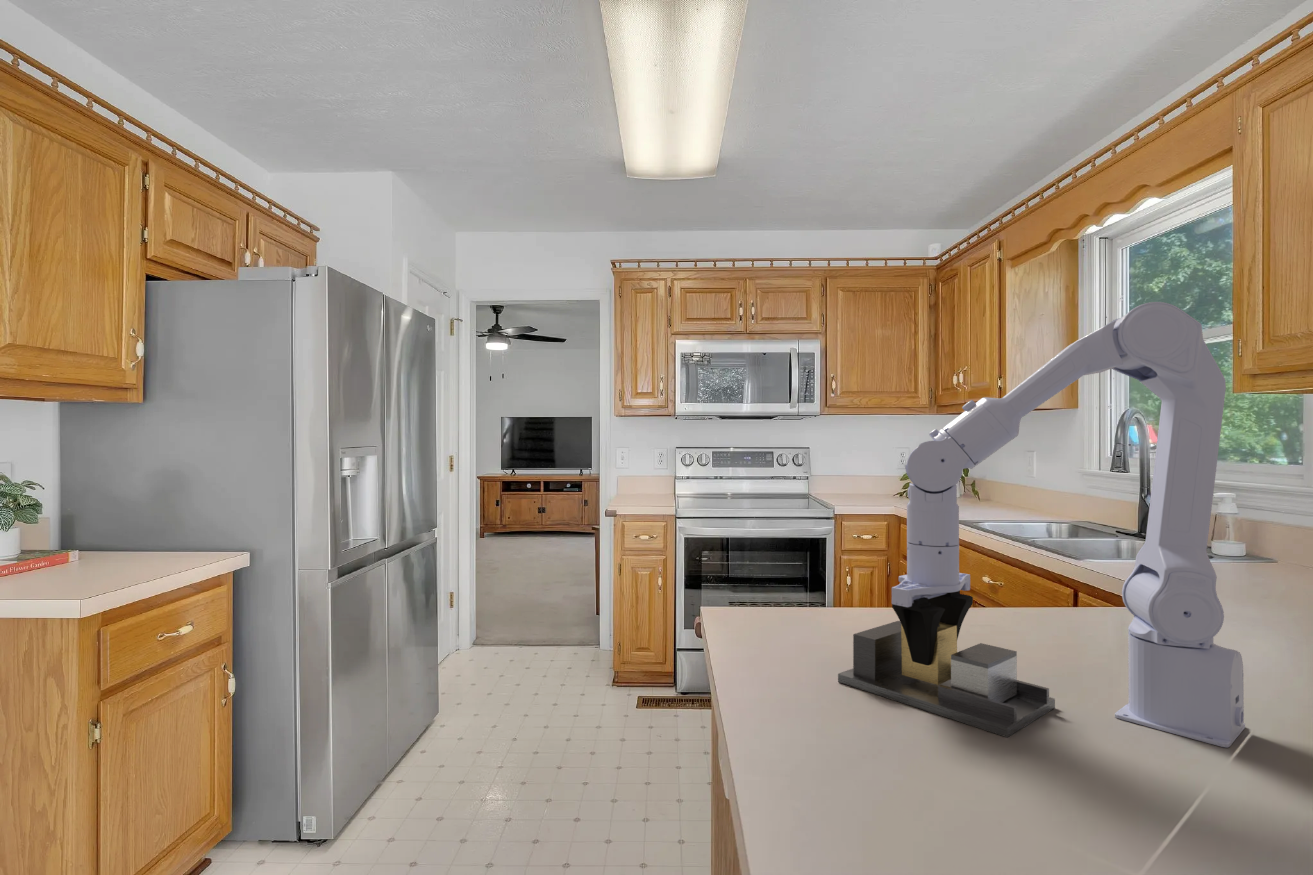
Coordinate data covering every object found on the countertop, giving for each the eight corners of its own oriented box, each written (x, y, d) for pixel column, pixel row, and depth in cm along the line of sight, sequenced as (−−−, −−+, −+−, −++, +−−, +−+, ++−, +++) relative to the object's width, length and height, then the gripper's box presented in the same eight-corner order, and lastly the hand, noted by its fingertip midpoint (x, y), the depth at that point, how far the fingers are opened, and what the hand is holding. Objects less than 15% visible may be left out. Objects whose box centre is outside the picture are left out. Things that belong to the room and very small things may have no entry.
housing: (957, 676, 79) (956, 624, 79) (938, 684, 76) (937, 631, 76) (921, 667, 82) (921, 617, 83) (901, 674, 80) (901, 623, 80)
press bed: (1054, 707, 74) (1054, 653, 74) (1007, 737, 67) (1006, 676, 67) (891, 661, 90) (891, 617, 90) (838, 681, 82) (838, 632, 82)
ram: (1016, 694, 75) (1016, 651, 75) (988, 709, 71) (987, 664, 71) (980, 684, 78) (980, 642, 78) (951, 698, 74) (951, 654, 74)
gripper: (932, 534, 87) (932, 639, 87) (867, 544, 78) (867, 662, 78) (987, 540, 81) (987, 652, 81) (925, 552, 72) (925, 678, 72)
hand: (932, 658), depth 79 cm, fingers closed on housing, 4 cm apart
